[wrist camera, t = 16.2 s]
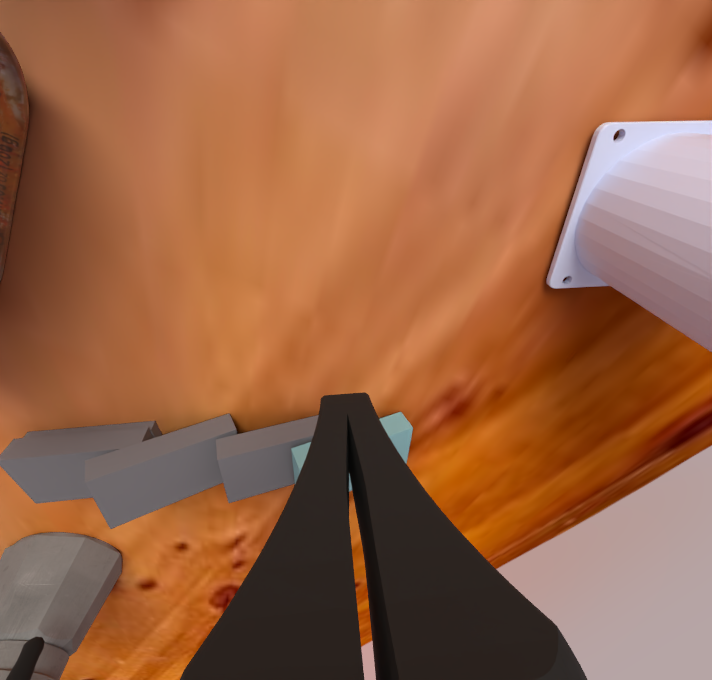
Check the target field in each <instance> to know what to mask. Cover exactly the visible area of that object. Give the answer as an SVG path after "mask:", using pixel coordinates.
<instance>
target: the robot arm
mask: <svg viewBox="0 0 712 680" xmlns="http://www.w3.org/2000/svg"><path fill="white" fill-rule="evenodd" d="M618 130H619V135H618V137H617V138H616V139H615V140H613V137H614V134H615V133H616V132H617V131H618ZM567 276H568V277H567ZM565 277H567V279H566V280H565V281H563V279H564V278H565ZM546 282H547V284H548V285H549V286H550V287H551V288H554V289H559V288H578V287H596V286H611V287H613V288H614V289H616V290H617V291H619V292H620V293H622V294H623V295H625V296H626V297H628V298H630V299H631V300H633V301H634V302H636V303H637V304H639V305H640V306H642V307H643V308H645V309H646V310H648V311H649V312H651V313H652V314H654V315H656V316H657V317H659V318H660V319H662V320H663V321H665V322H666V323H668V324H669V325H671V326H672V327H674V328H675V329H677V330H678V331H680V332H682V333H683V334H685V335H686V336H688V337H689V338H691V339H692V340H694V341H695V342H697V343H698V344H700V345H701V346H703V347H704V348H706V349H707V350H709V351H711V352H712V120H706V121H648V122H607V123H603V124H602V125H600V126H599V127H598V128H597V129H596V130H595V132H594V134H593V137H592V140H591V143H590V146H589V149H588V152H587V156H586V159H585V162H584V165H583V168H582V171H581V174H580V177H579V180H578V183H577V186H576V190H575V193H574V196H573V199H572V202H571V205H570V208H569V211H568V214H567V217H566V220H565V224H564V227H563V230H562V233H561V236H560V239H559V242H558V245H557V248H556V251H555V254H554V258H553V261H552V264H551V267H550V270H549V273H548V276H547V280H546ZM349 474H350V480H351V485H352V491H353V496H354V502H355V507H356V513H357V518H358V524H359V529H360V535H361V540H362V546H363V553H364V560H365V568H366V578H367V588H368V598H369V609H370V619H371V630H372V640H373V651H374V661H375V671H376V680H587V678H586V676H585V674H584V672H583V670H582V668H581V666H580V664H579V662H578V661H577V659H576V657H575V655H574V654H573V652H572V650H571V648H570V647H569V645H568V643H567V642H566V640H565V639H564V637H563V635H562V634H561V632H560V630H559V629H558V627H557V626H556V625H555V624H554V623H553V622H552V621H551V620H550V619H549V618H547V617H546V616H545V615H544V614H543V613H542V612H541V611H540V610H539V609H538V608H536V607H535V606H534V605H533V604H532V603H531V602H530V601H529V600H528V599H526V598H525V597H524V596H523V595H522V594H521V593H520V592H519V591H518V590H517V589H515V587H514V586H512V585H511V584H510V583H509V582H508V581H507V580H506V579H505V578H504V577H503V576H502V575H501V574H500V573H499V572H498V571H497V570H496V569H495V568H494V567H493V566H492V565H491V564H490V563H489V562H488V561H487V560H486V559H485V558H484V557H483V556H482V555H481V554H480V553H479V552H478V550H477V549H476V548H475V547H474V546H473V545H472V544H471V543H470V542H469V541H468V540H467V539H466V538H465V537H464V536H463V535H462V533H461V532H460V531H459V530H458V529H457V528H456V527H455V526H454V525H453V524H452V522H451V521H450V520H449V519H448V518H447V517H446V515H445V514H444V513H443V512H442V511H441V510H440V508H439V507H438V506H437V505H436V503H435V502H434V501H433V500H432V498H431V497H430V496H429V495H428V493H427V492H426V491H425V490H424V488H423V487H422V486H421V484H420V483H419V481H418V480H417V479H416V477H415V476H414V475H413V473H412V472H411V470H410V469H409V467H408V466H407V465H406V463H405V462H404V460H403V459H402V457H401V456H400V454H399V452H398V451H397V449H396V448H395V446H394V444H393V443H392V441H391V439H390V438H389V436H388V434H387V433H386V431H385V429H384V427H383V425H382V424H381V422H380V420H379V418H378V416H377V414H376V412H375V410H374V407H373V405H372V403H371V400H370V398H369V395H368V394H366V393H353V394H339V395H326V396H323V397H322V398H321V404H320V411H319V416H318V420H317V424H316V428H315V432H314V435H313V438H312V441H311V444H310V447H309V450H308V453H307V456H306V459H305V461H304V464H303V466H302V469H301V471H300V474H299V476H298V479H297V481H296V484H295V486H294V488H293V491H292V493H291V495H290V497H289V499H288V501H287V504H286V506H285V508H284V510H283V512H282V514H281V516H280V518H279V520H278V522H277V524H276V526H275V527H274V529H273V531H272V533H271V535H270V537H269V539H268V540H267V542H266V544H265V546H264V548H263V550H262V551H261V553H260V555H259V557H258V558H257V560H256V562H255V564H254V565H253V567H252V569H251V570H250V572H249V573H248V575H247V577H246V578H245V580H244V581H243V583H242V585H241V586H240V588H239V589H238V591H237V593H236V594H235V596H234V598H233V599H232V601H231V602H230V604H229V606H228V607H227V609H226V610H225V612H224V613H223V615H222V616H221V618H220V619H219V621H218V622H217V623H216V625H215V626H214V628H213V629H212V631H211V632H210V634H209V635H208V636H207V638H206V639H205V641H204V642H203V644H202V645H201V647H200V648H199V649H198V651H197V652H196V654H195V655H194V657H193V658H192V660H191V661H190V662H189V664H188V665H187V667H186V668H185V670H184V672H183V674H182V676H181V679H180V680H364V673H363V663H362V653H361V642H360V632H359V621H358V611H357V601H356V590H355V579H354V569H353V558H352V547H351V536H350V525H349Z"/></svg>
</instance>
